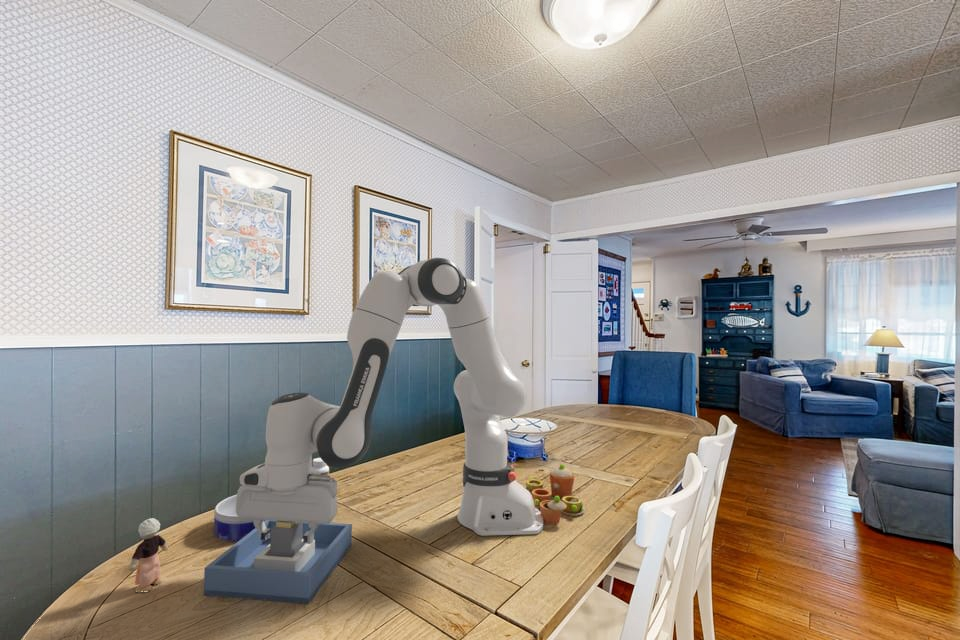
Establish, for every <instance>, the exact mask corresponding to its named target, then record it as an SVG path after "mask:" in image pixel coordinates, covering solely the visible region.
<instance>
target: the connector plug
mask: <svg viewBox="0 0 960 640" xmlns="http://www.w3.org/2000/svg"><path fill="white" fill-rule="evenodd" d="M302 528H303V522H288V521H277V522H276V525H274V526H273V527H272V528H271V539H270V556H278V557H291V558H292V557H293V556H294V555H295V554H296V553H297V552H298V551H299V550H300V549H301V548H302Z"/></svg>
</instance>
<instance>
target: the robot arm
mask: <svg viewBox="0 0 960 640" xmlns="http://www.w3.org/2000/svg"><path fill="white" fill-rule="evenodd" d="M436 305H438V306H439V307H440V309H441V310H442V312H443V313H444V316H445V319H446V324H447V327H448V331H449V334H450V338H451V341H452V345H453V349H454V352H455V355H456V357H457V359H458V361H460V362H461V364H462V365H463V366H464V368H465V370H462V371H461V372H459V373H458V374H457V376H455V380H454V382H453V393H454V395H455V396H456V398H457V400H458V404H459V407H460V411H461V417H462V421H463V426H464V433H465V434H464V435H465V436H464V437H465V447H464V448H465V451H464V452H465V454H464V457H465V458H464V463H463V466H462V486H463V489H462V497H461V501H460V507H459V509H458V514H457V517H456V518H457V521H458V523H459V524H460V525H462V526H464V527H465V528H468V529H469V530H471V531H473V532H474V533H475V534H476V535H479V536H482V537H483V536H513V535H514V536H515V535H516V536H517V535H520V536H521V535H537V534H540V533H541V532H542V531H543V530H544V524H545V523H544V522H543V517H542V516H541V510H539V508H537V507H535V505H534V500H533V498H532V495H531V493H530V492H529V491H528V490H527V489H525V488H526V487H525V486H524V485H523V484H520V483H519V482H518V481H517V480H516V479H517V473H516V471H515V468H514V466H513V465H512V464H511V465H510V464H508V435H507V434H508V433H507V431H506V430H505V428H504V427H503V425H502V422H501V418H509V417H510V418H511V417H514V416H517V415H518V414H519V413H521V412H522V410H523V409H524V407H525V405H526V403H527V391H526V387H525V384H524V383H523V382H522V381H521V380H519V378H518V377H517V376H516V375H515V374H514V372H513V371H512V369H511V367H510V366H509V364H508V361H507V360H506V359H505V357H504V355H503V353H502V351H501V348H500V346H499V344H498V341H497V338H496V335H495V330H494V328H493V327H494V326H493V324H492V320H491V317H490V313H489V309H488V306H487V303H486V300H485V298H484V296H483V293H482V291H481V289H480V287H479V284H478V283H477V282H476V281H474V280H472V279H469V278H466V277H465V276H464V275H463V273H462V270H461V269H460V268H459V267H458V265H456V263H454V262H453V261H452V260H450V259H447V258H443V257H433V258H430V259H423V260H420V261H418V262H415V263H414V264H411V265H409V266H406V267H404V268H403V269H402V270H400V272H398V273H396V272H393V271H388V270H385V271H383V270H382V271H379V272H377V273H375V274H374V275H372V277H371V279H370V280H369V281H368V283H367V285H366V286H365V288H364V289H363V292H362V293H361V294H360V296H359V299H358V301H357V304H356V306H355V307H354V310H353V313H352V315H351V318H350V320H349V321H350V322H349V325H348V329H347V335H346V340H347V344H348V346H349V348H350V350H351V351H350V352H351V354H352V361H353V362H352V369H351V370H352V371H351V374H350V377H349V380H348V384H347V386H346V389H345V391H344V395H343V398H342V401H341V403H340V405H335V404H331V403H327V402H324V401H322V400H320V399H318V398H316V397H314V396H312V395H311V394H310V393H307V392H294V393H288V394H285V395H281V396H279V397H277V398H276V399H274V400H273V401H272V403H270V406H269V408H268V412H267V417H266V425H265V427H266V428H265V443H266V447H267V452H266V456H265V457H264V458H265V459H264V463H261V464H258V465H256V466H254V467H251V468H250V469H248V470H246V471H245V472H244V473H242V474H240V476H239V483H240V487H239V488H238V489H237V492H236V495H237V499H236V514H237V515H238V517H239V518H242V519H254V526H255V527H256V529H257V531H258V532H259V540H264V541H266V540H267V539H269V538H270V529H267V527H266V525H265V523H264V520H273V521H288V522H303V523H309V528H311V530H310V531H307V532H306V534H304V535H303V539H304V540H303V543H306V544H311V543H312V542H313V540H314V532H315V530H316V529H317V527H318V526H319V524H328V523H332V521H333V520H334V519H335V518H336V516H337V515H338V498H337V493H338V482H337V481H336V479H335V478H333V477H332V476H331V475H330V474H329V475H324V476H323V475H315V474H311V468H312V467H313V454H314V453H318V456H319V458H321V459H322V460H323V461H324V462H325V463H326V465H327V466H328V467H332V468H335V469H337V468H338V469H343V468H348V467H351V466H353V465H355V464H357V463H358V462H360V461H361V460H362V459H363V458H364V457H365V455H366V454H367V453H368V451H369V448H370V445H371V439H372V432H371V431H372V430H371V429H372V428H371V427H372V425H371V422H372V416H373V411H374V409H375V406H376V403H377V399H378V396H379V392H380V390H381V386H382V383H383V380H384V377H385V373H386V370H387V365H388V362H389V359H390V356H391V353H392V350H393V348H394V346H395V343H396V342H397V341H396V340H397V337H398V335H399V333H400V331H401V327H402V324H403V323H404V320H405V316H406V314H407V313H408V311H409V310H410V308H411V307H433V306H436ZM522 485H523V486H524V487H525V488H524V487H523V486H522Z"/></svg>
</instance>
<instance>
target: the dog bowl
mask: <svg viewBox="0 0 960 640" xmlns="http://www.w3.org/2000/svg"><path fill="white" fill-rule="evenodd" d="M236 499H237V494H235V495H231V496H228V497H227V498H225V499H222V500H221V501H220V502H218V503H217V504H216V506H215V507H214V513H213V514H214V517H213V518H214V519H213V522H214V525H213V527H214V529H213V531H214V536H215V538H217V539H219V540H222V541H225V542H238V541H240V540H241V539H242V538H243V537H245V536H246V535H247V534H249V533H250V532H251V531H252V530H254V529H255V528H256V527H255V526H254V519H242V518H239V517H238V515H237V514H236ZM264 521H265V520H264Z"/></svg>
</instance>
